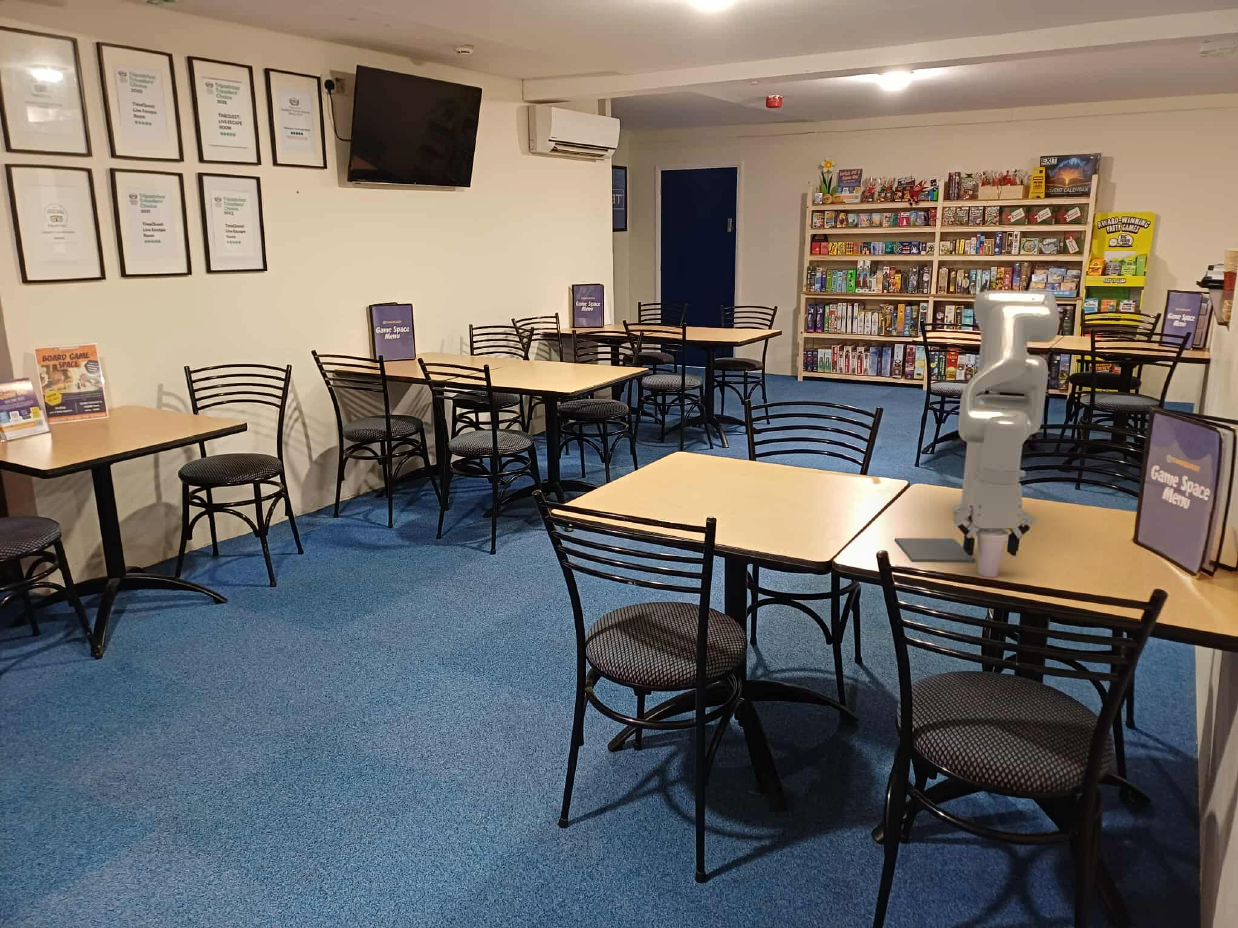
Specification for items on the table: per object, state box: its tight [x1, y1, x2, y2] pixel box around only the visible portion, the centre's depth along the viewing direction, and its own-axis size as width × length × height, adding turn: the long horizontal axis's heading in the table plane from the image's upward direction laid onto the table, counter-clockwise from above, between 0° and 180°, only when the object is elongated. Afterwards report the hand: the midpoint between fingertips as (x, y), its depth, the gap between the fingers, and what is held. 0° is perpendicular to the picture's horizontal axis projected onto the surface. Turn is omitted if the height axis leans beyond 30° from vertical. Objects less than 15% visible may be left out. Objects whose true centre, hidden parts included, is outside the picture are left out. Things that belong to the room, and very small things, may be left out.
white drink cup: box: [975, 529, 1009, 578], centre depth 184 cm, size 6×6×14 cm
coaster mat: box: [894, 537, 977, 563], centre depth 200 cm, size 14×14×1 cm
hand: (989, 553), depth 185 cm, fingers open, 8 cm apart
